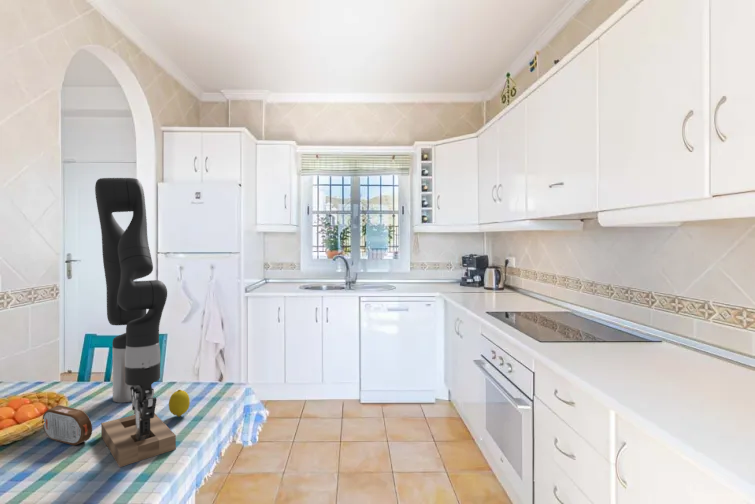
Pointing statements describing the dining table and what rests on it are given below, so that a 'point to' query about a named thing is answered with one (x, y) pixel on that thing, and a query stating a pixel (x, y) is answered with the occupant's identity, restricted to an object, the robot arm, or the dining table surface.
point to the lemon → (179, 403)
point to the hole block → (124, 443)
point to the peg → (138, 436)
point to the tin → (67, 425)
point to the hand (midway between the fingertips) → (142, 431)
